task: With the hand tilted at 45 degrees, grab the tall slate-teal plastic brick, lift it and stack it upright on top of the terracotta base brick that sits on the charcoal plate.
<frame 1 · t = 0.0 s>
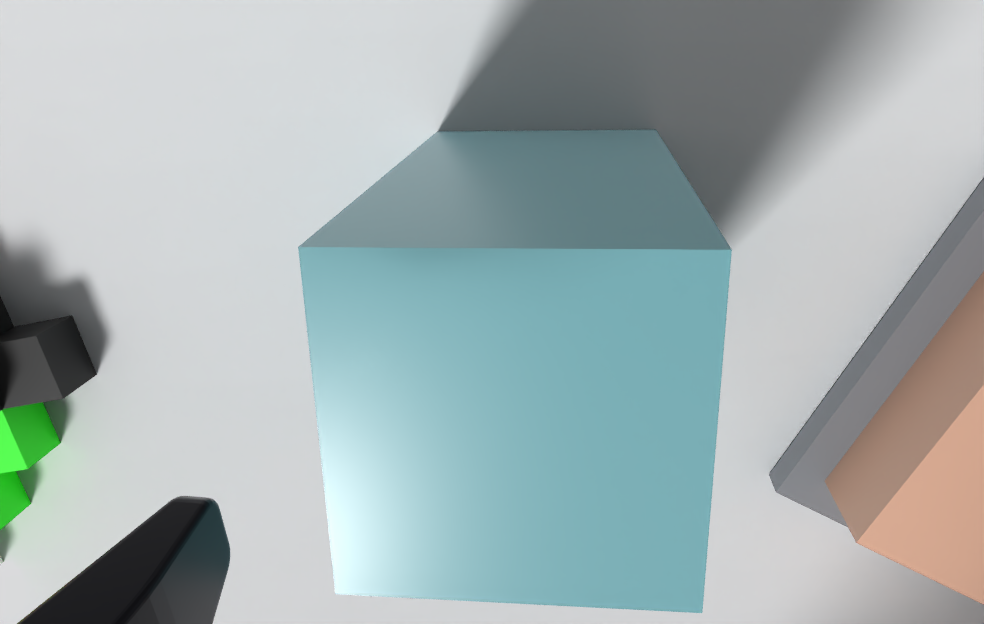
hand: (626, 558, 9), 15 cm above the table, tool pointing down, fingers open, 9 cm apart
teal brick: (545, 236, 24), on the table
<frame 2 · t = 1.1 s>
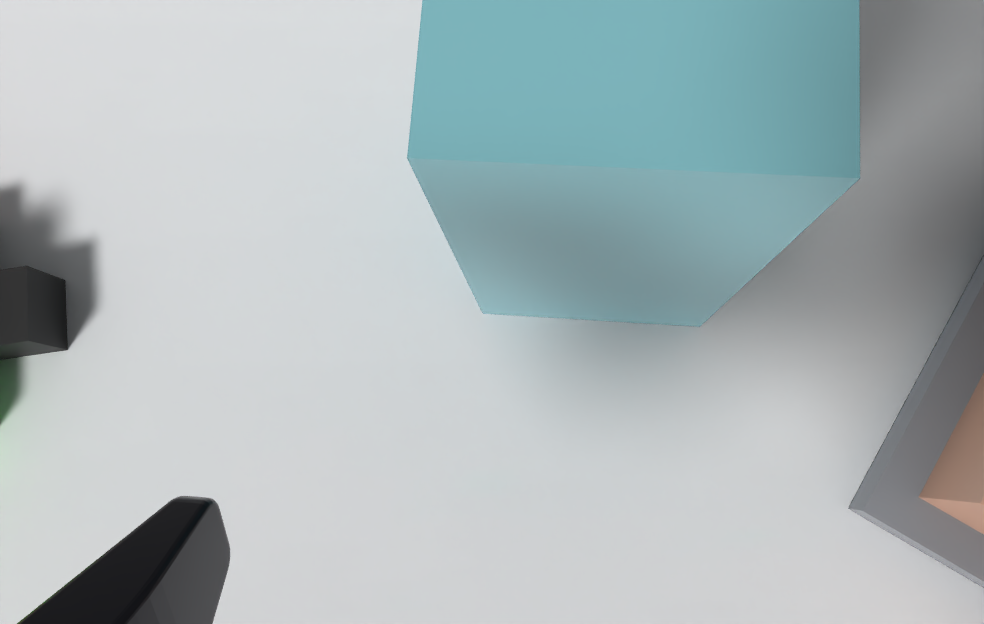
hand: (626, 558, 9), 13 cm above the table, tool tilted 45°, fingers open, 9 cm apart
teal brick: (595, 216, 23), on the table
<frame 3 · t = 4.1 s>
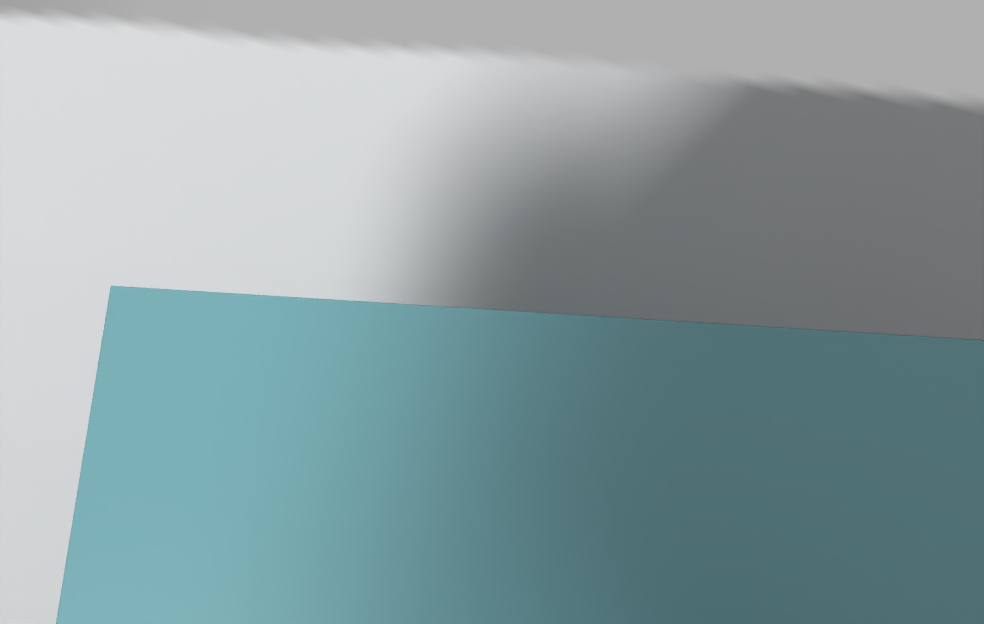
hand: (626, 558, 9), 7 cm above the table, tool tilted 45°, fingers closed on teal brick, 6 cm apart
teal brick: (591, 595, 15), on the table, touching gripper
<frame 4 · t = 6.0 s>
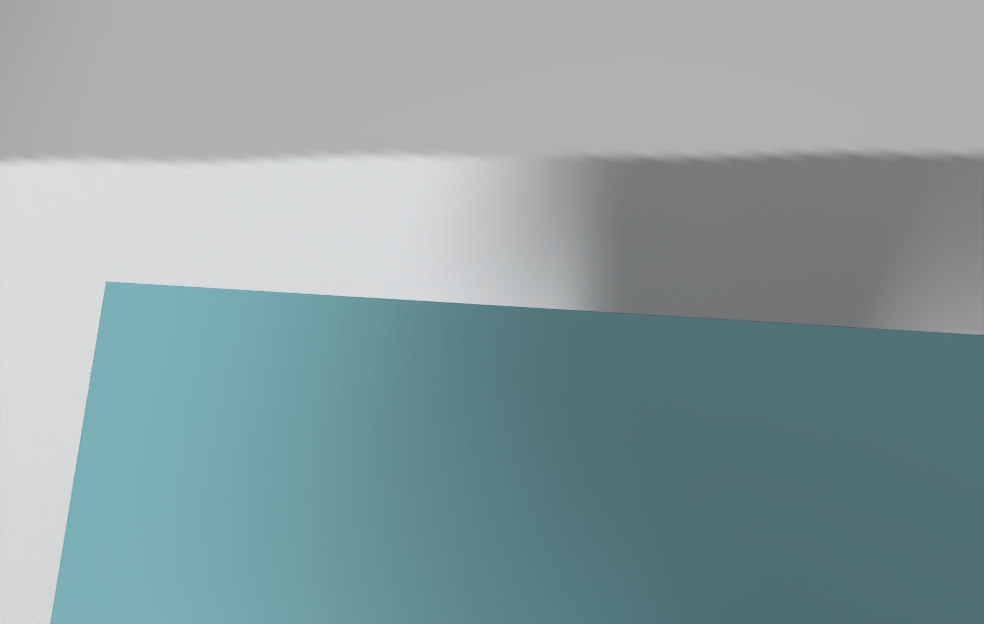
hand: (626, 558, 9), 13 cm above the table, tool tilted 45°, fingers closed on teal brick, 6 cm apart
teal brick: (589, 594, 15), point 6 cm above the table, touching gripper
when the fingers open (12 cm above the table, at t = 8.2 s): teal brick drops 1 cm, resting on tower base.
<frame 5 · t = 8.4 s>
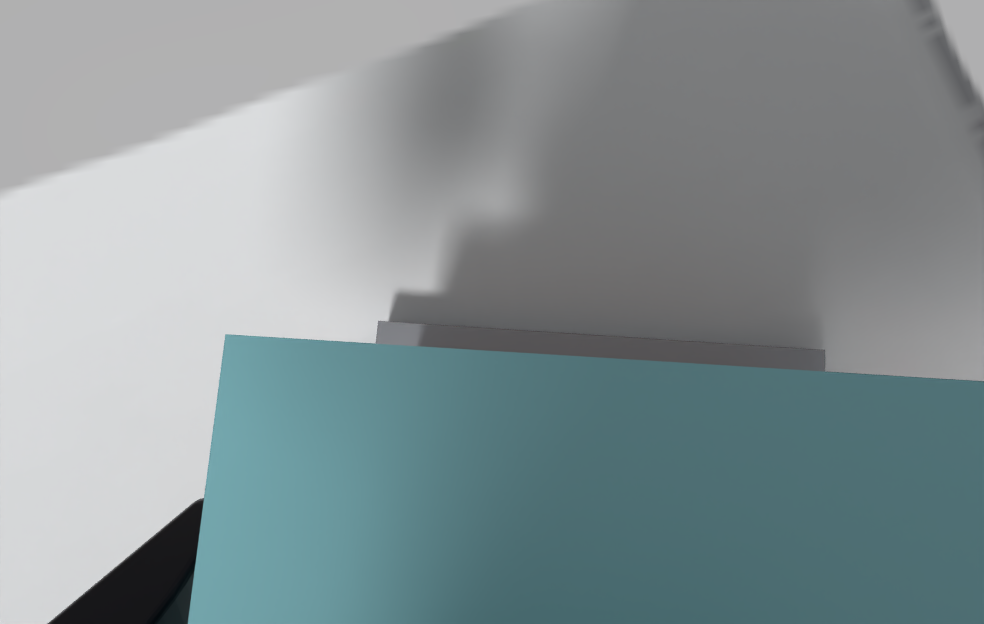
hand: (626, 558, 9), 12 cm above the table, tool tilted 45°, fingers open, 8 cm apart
teal brick: (587, 583, 16), point 4 cm above the table, touching tower base
tower base: (582, 560, 20), on the table
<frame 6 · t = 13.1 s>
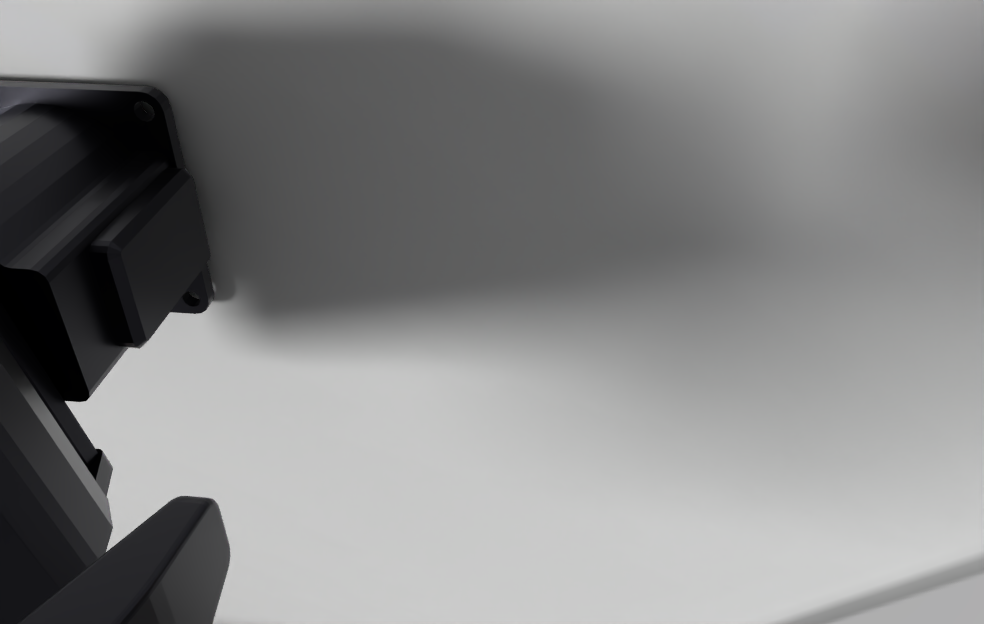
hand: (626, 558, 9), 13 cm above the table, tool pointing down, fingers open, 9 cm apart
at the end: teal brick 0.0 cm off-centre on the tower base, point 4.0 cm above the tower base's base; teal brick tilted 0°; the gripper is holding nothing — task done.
